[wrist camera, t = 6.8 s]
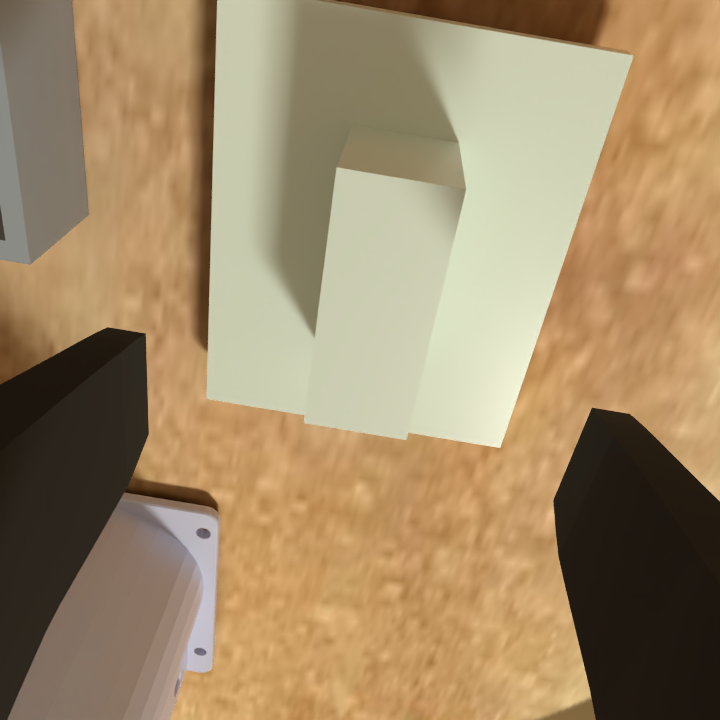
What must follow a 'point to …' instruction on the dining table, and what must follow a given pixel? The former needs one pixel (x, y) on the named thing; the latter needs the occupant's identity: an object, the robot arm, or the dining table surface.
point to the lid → (392, 210)
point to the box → (39, 128)
